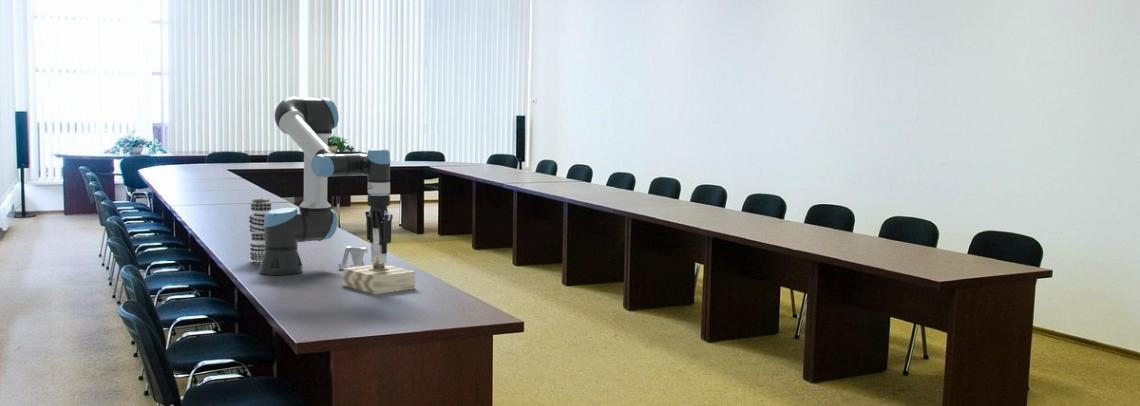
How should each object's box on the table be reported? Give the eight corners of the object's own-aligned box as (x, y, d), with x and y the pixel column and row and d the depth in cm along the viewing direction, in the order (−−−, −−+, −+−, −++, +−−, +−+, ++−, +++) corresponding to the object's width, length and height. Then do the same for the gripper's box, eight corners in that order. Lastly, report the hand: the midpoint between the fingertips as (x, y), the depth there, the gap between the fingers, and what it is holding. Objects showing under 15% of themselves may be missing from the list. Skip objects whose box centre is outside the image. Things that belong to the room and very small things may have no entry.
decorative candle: (279, 261, 376) (278, 198, 374) (260, 264, 368) (259, 200, 366) (263, 258, 381) (262, 196, 379) (244, 261, 373) (243, 198, 371)
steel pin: (370, 268, 327) (370, 227, 325) (380, 266, 330) (380, 226, 328) (377, 269, 324) (377, 228, 323) (387, 268, 327) (387, 228, 325)
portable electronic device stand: (338, 270, 359) (338, 248, 359) (350, 267, 367) (350, 245, 366) (357, 271, 356) (357, 249, 355) (369, 268, 364) (369, 247, 363)
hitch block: (343, 285, 329) (343, 268, 328) (382, 280, 340) (382, 263, 340) (374, 294, 315) (374, 276, 314) (414, 288, 326) (415, 271, 325)
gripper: (355, 193, 328) (356, 260, 330) (383, 197, 316) (383, 266, 318) (374, 191, 333) (374, 258, 335) (402, 195, 321) (402, 264, 323)
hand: (378, 262), depth 327 cm, fingers closed on steel pin, 4 cm apart
